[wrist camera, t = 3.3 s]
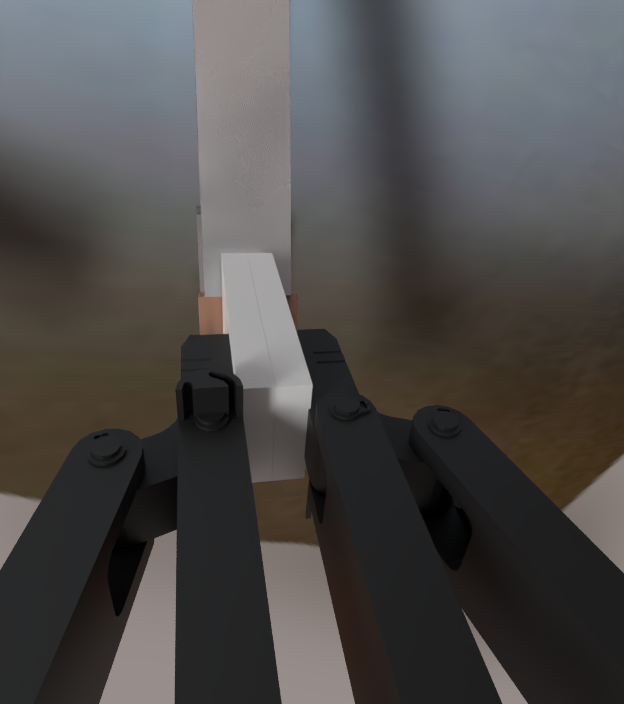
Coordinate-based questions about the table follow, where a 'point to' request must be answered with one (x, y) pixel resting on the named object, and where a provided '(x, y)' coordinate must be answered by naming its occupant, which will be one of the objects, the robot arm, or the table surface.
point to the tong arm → (242, 140)
